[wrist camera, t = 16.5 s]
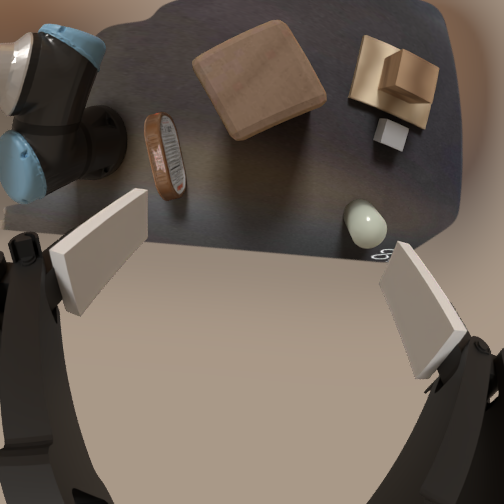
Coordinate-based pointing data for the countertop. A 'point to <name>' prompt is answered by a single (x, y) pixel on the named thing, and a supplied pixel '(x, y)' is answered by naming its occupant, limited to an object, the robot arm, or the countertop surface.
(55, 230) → the countertop surface
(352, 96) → the board
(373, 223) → the pale green rounded cylinder
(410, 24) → the countertop surface
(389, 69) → the walnut block
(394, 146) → the slate cube
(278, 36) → the block
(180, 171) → the tin
